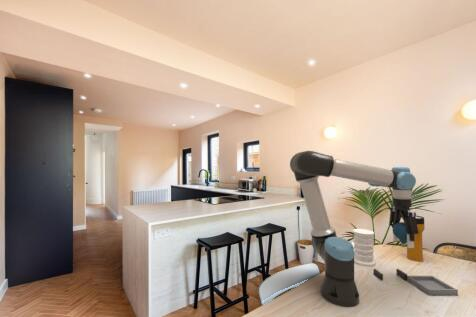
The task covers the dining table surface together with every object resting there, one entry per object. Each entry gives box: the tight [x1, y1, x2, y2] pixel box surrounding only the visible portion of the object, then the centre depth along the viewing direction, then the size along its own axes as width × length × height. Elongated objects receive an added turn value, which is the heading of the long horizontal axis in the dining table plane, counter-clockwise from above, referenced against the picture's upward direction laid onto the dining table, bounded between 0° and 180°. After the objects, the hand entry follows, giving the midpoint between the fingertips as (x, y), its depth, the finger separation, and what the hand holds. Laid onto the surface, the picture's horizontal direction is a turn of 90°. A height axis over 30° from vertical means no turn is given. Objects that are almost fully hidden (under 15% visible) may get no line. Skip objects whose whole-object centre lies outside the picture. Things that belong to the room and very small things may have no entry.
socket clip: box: [373, 268, 408, 282], centre depth 113 cm, size 13×6×3 cm, turn 90°
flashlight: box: [403, 215, 425, 262], centre depth 136 cm, size 10×26×10 cm
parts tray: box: [407, 275, 459, 297], centre depth 103 cm, size 13×13×2 cm
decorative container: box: [352, 228, 376, 268], centre depth 131 cm, size 12×12×18 cm
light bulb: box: [392, 221, 408, 248], centre depth 110 cm, size 8×8×12 cm
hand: (403, 244), depth 110 cm, fingers closed on light bulb, 8 cm apart
